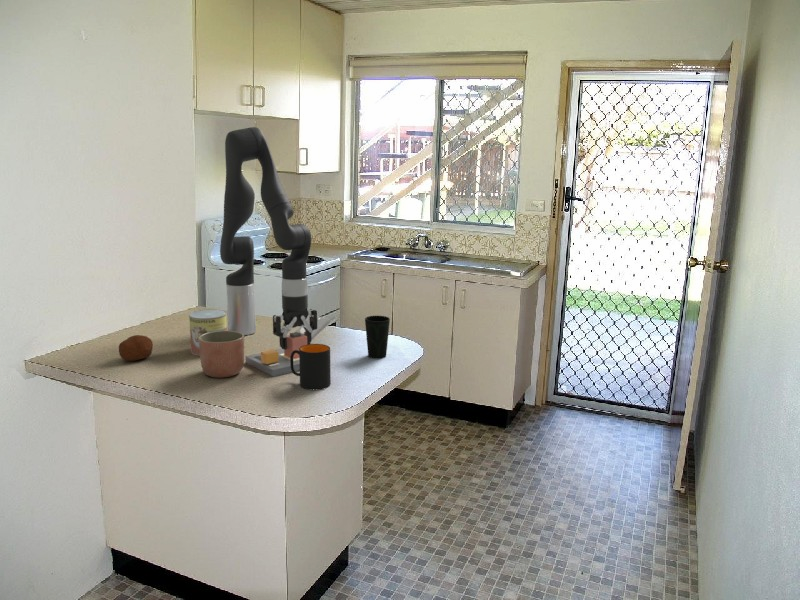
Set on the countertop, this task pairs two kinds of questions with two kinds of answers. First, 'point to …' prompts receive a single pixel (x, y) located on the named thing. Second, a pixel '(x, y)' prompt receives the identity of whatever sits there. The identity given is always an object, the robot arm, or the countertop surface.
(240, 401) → the countertop surface
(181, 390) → the countertop surface
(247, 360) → the panel
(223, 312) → the canned food
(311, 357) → the mug
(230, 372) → the pink terracotta mug
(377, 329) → the cup
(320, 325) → the light switch
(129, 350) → the potato
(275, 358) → the orange rectangular prism
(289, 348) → the pink square block
